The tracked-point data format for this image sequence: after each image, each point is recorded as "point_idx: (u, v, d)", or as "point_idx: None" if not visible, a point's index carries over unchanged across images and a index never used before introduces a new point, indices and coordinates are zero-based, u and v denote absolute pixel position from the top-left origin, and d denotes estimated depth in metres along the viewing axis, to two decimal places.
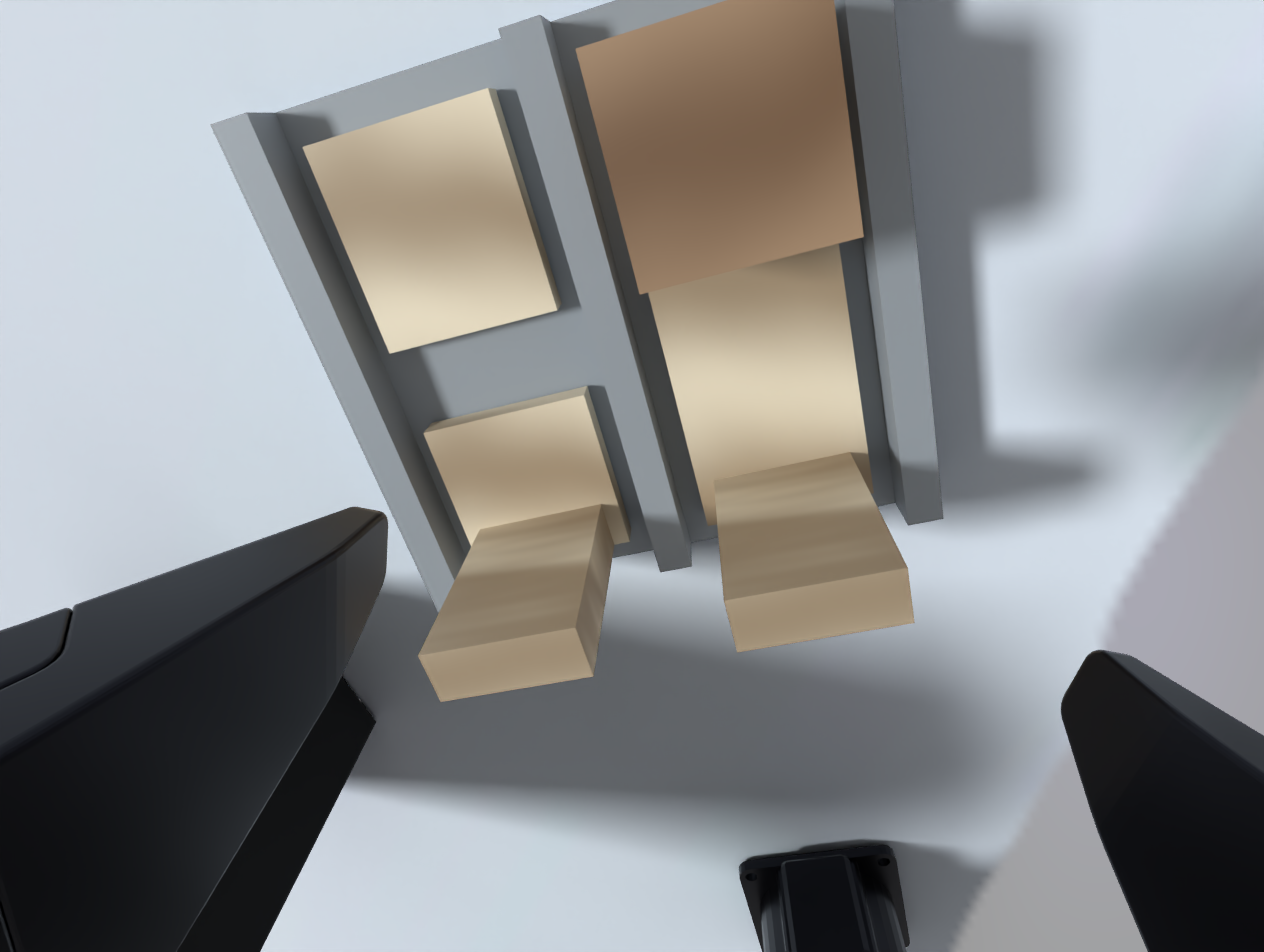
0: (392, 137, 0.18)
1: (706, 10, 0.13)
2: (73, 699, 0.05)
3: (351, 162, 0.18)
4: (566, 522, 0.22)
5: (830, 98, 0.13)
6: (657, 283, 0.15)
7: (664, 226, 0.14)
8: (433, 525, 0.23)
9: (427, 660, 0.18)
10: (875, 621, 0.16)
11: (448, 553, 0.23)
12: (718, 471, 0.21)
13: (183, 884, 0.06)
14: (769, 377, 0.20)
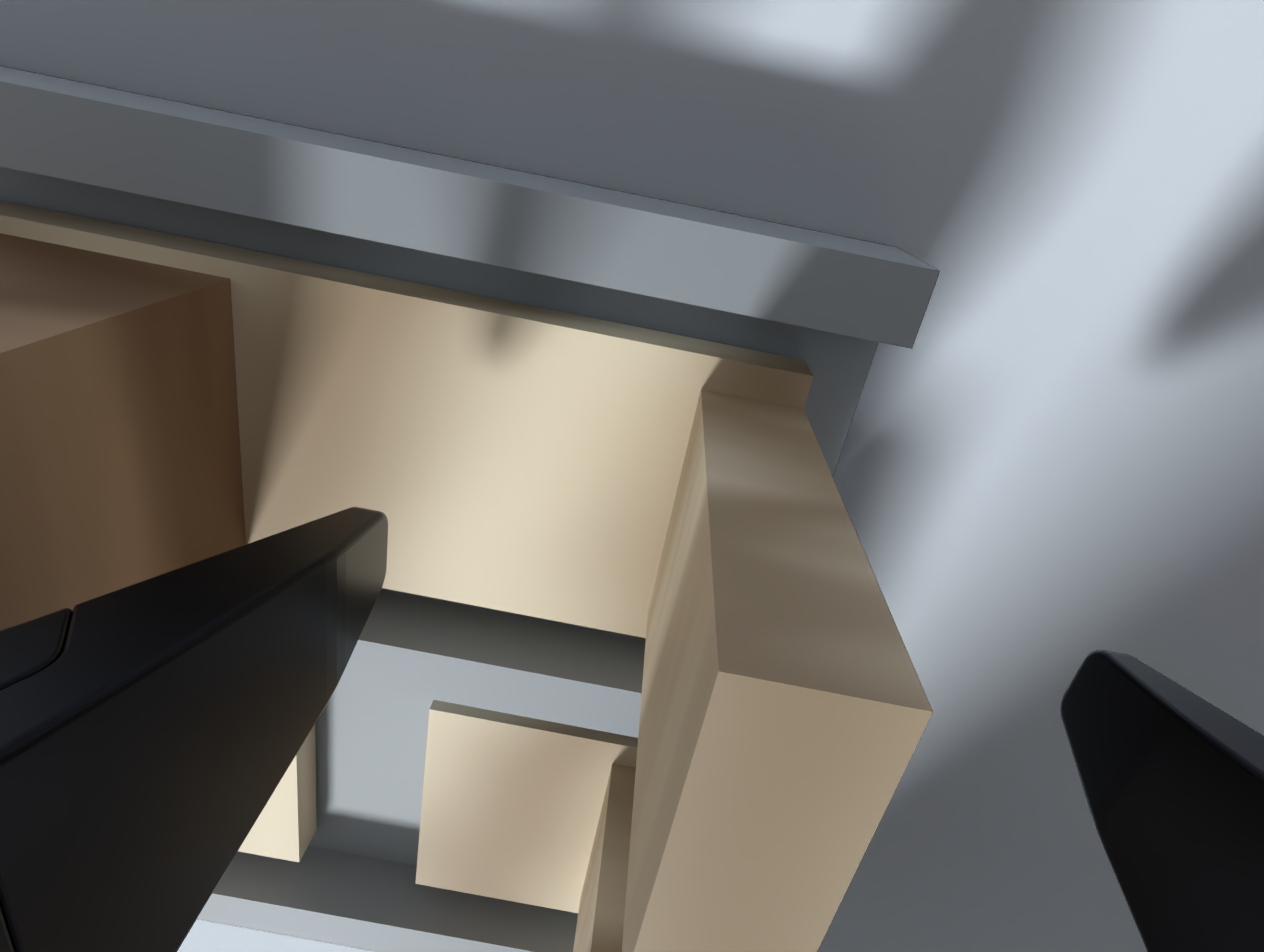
0: None
1: None
2: (74, 698, 0.05)
3: None
4: (599, 834, 0.13)
5: None
6: None
7: None
8: (542, 942, 0.16)
9: None
10: (863, 788, 0.05)
11: None
12: (634, 601, 0.12)
13: (184, 884, 0.06)
14: (497, 465, 0.11)
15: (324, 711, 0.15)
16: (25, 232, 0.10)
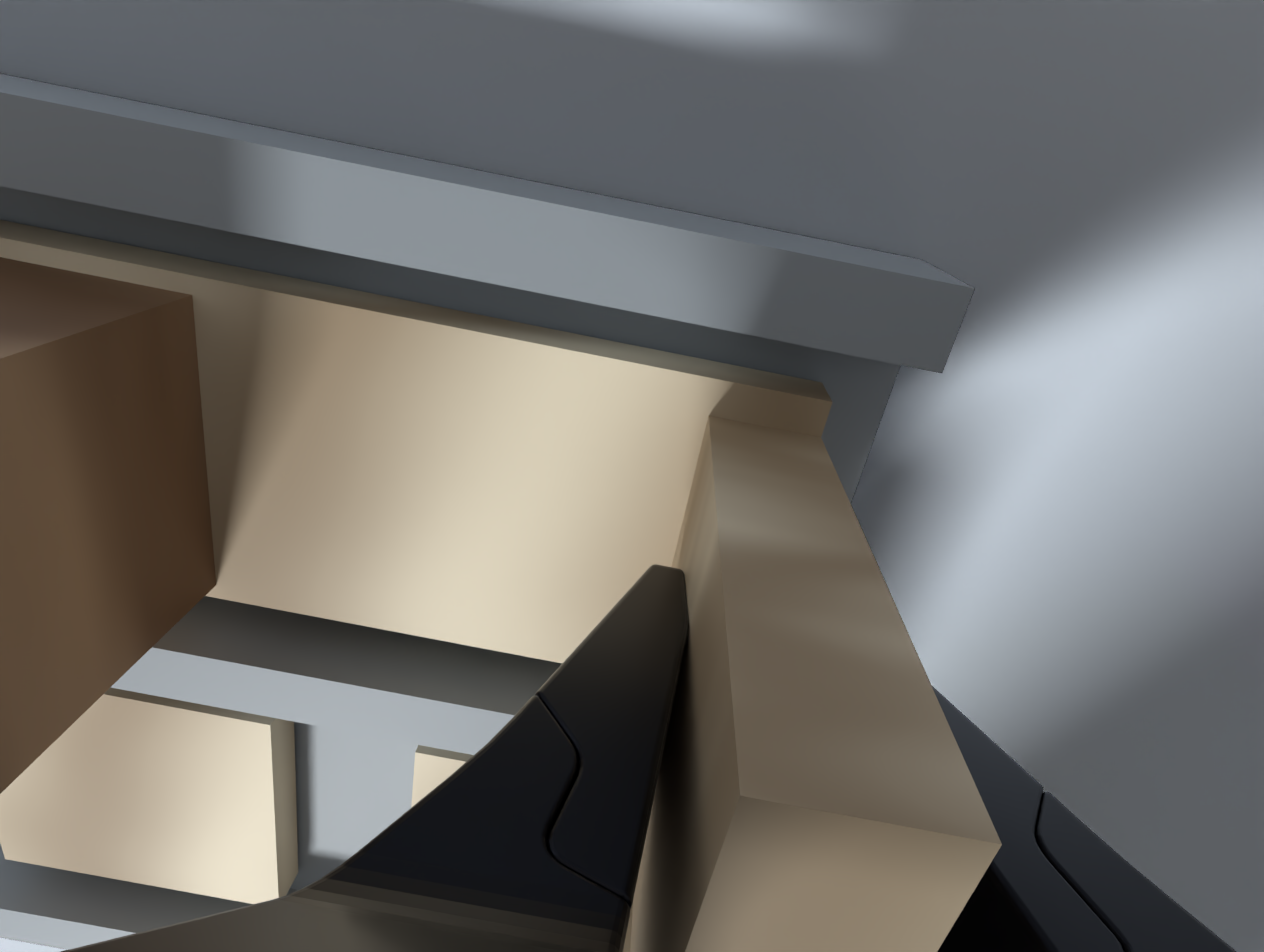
0: None
1: None
2: (637, 803, 0.05)
3: (27, 828, 0.14)
4: None
5: None
6: None
7: None
8: None
9: None
10: (914, 925, 0.04)
11: None
12: None
13: None
14: (486, 497, 0.10)
15: (304, 750, 0.14)
16: None
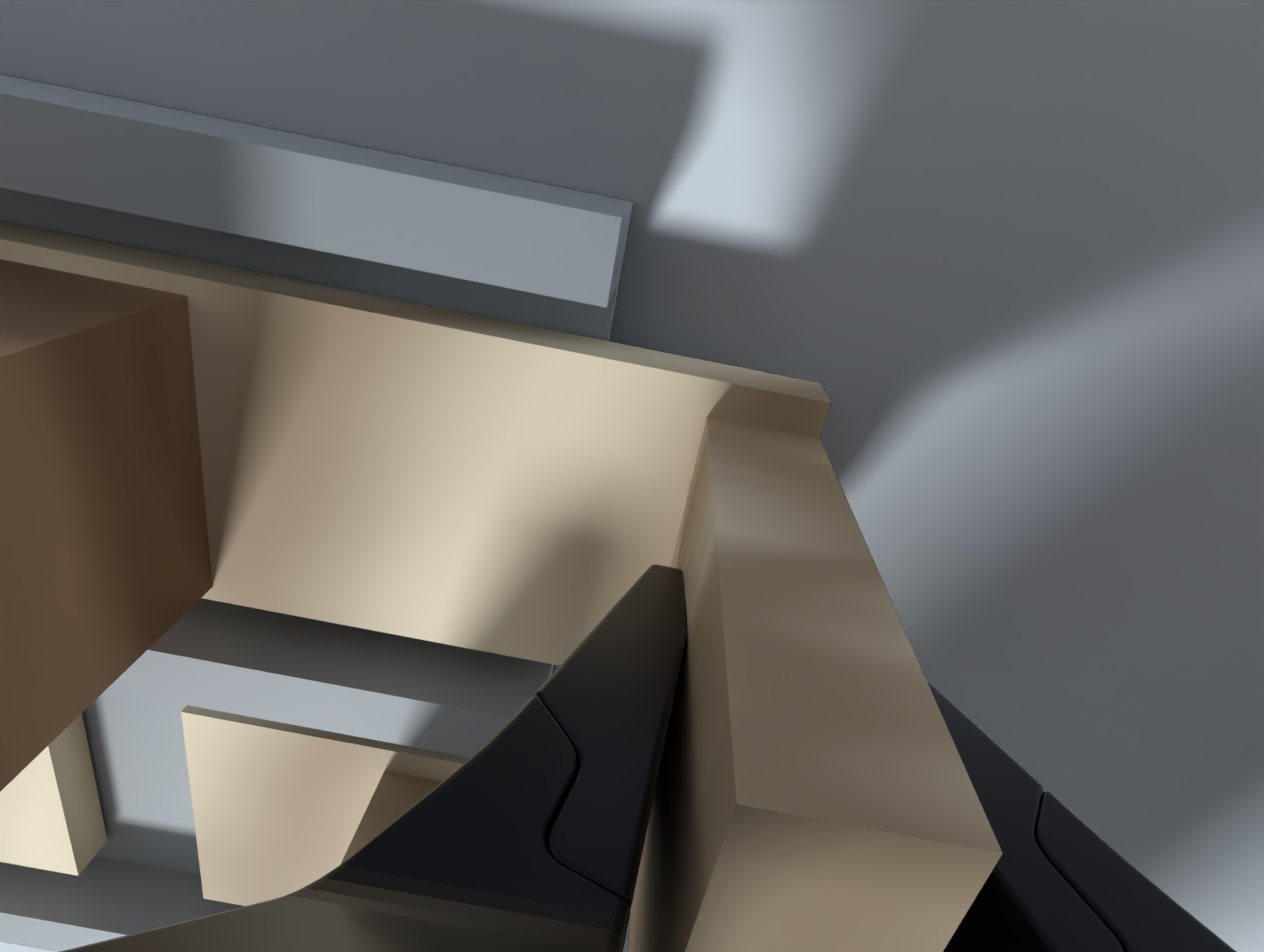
0: None
1: None
2: (637, 803, 0.05)
3: None
4: None
5: None
6: None
7: None
8: None
9: None
10: (913, 936, 0.04)
11: None
12: None
13: None
14: (483, 498, 0.10)
15: (93, 714, 0.14)
16: None
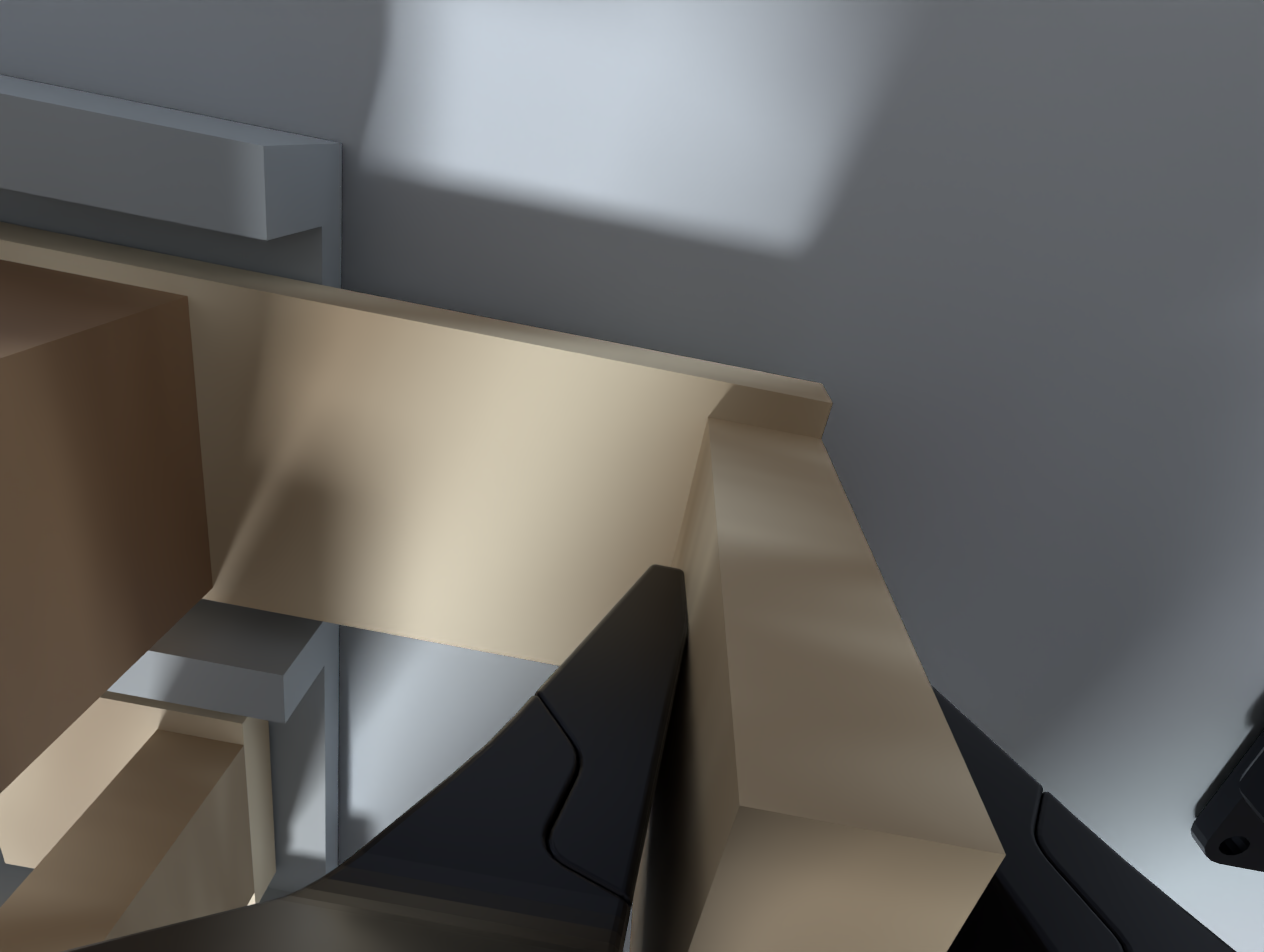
0: None
1: None
2: (637, 803, 0.05)
3: None
4: None
5: None
6: None
7: None
8: None
9: None
10: (915, 938, 0.04)
11: None
12: None
13: None
14: (484, 499, 0.10)
15: None
16: None
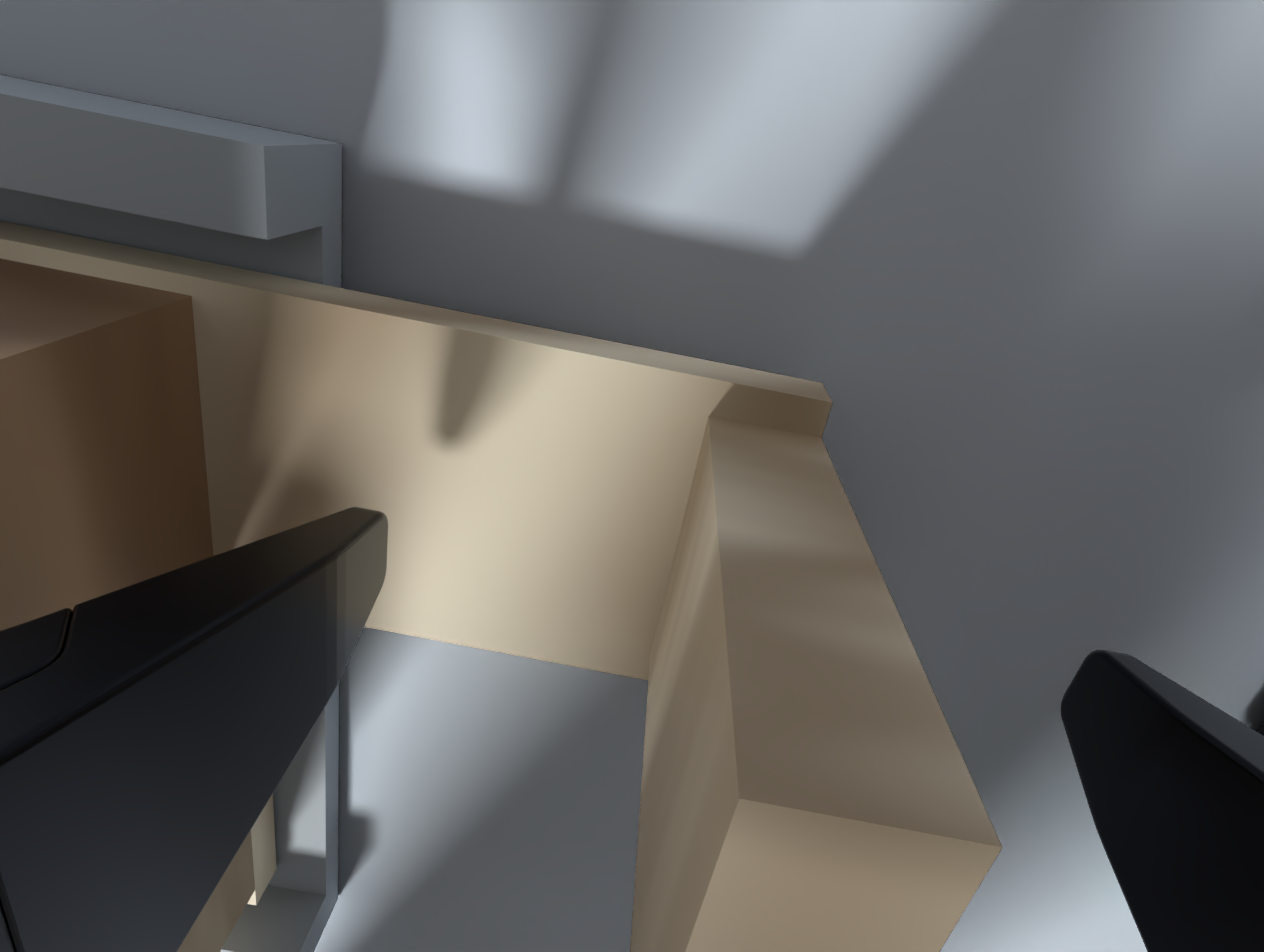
0: None
1: None
2: (73, 699, 0.05)
3: None
4: None
5: None
6: None
7: None
8: None
9: None
10: (914, 929, 0.04)
11: None
12: (635, 641, 0.11)
13: (183, 884, 0.06)
14: (486, 497, 0.10)
15: None
16: None
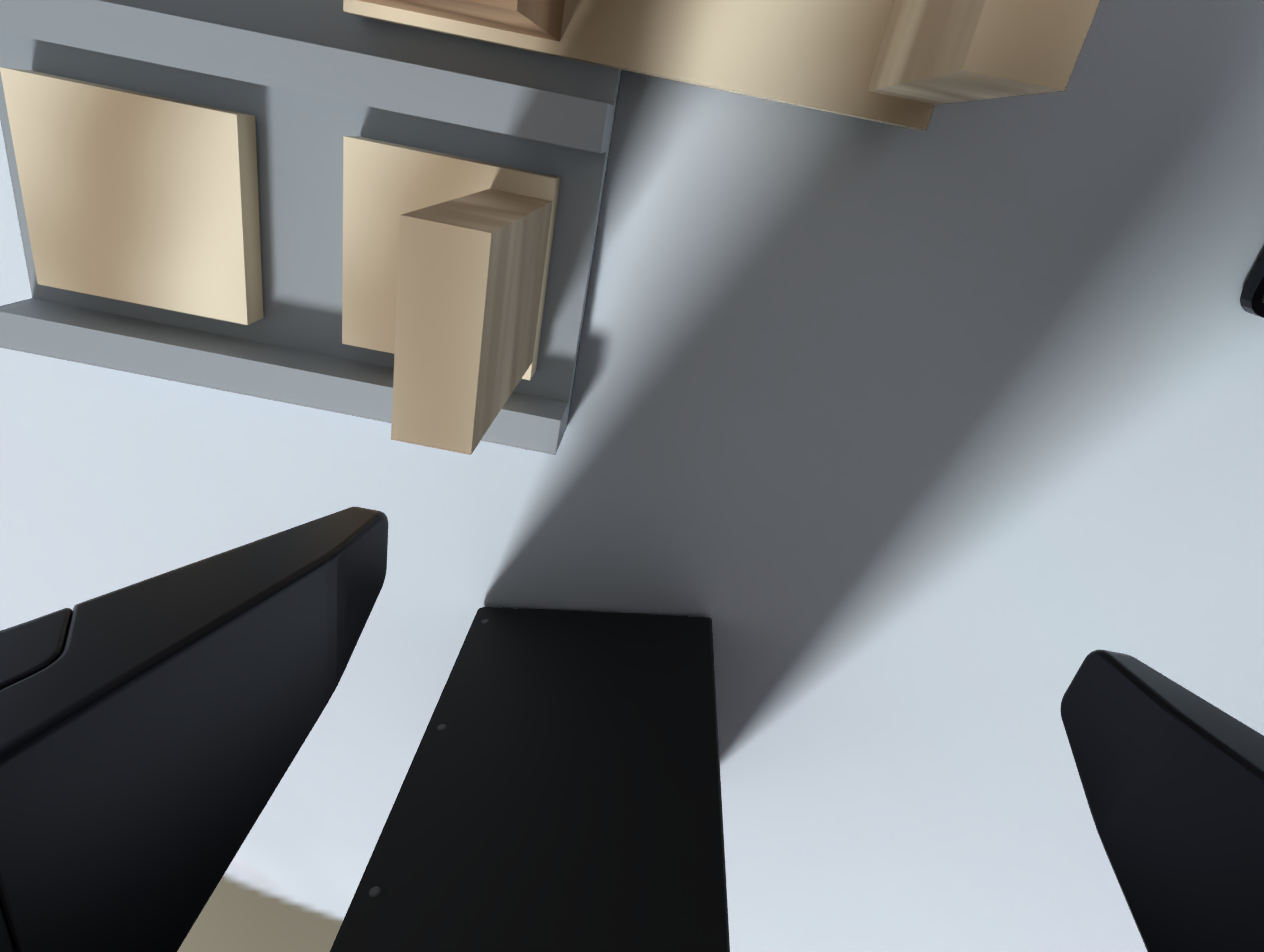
0: (37, 193, 0.18)
1: None
2: (74, 699, 0.05)
3: (55, 247, 0.18)
4: None
5: None
6: None
7: None
8: None
9: (401, 432, 0.13)
10: None
11: None
12: (858, 78, 0.16)
13: (184, 884, 0.06)
14: None
15: (265, 182, 0.18)
16: None
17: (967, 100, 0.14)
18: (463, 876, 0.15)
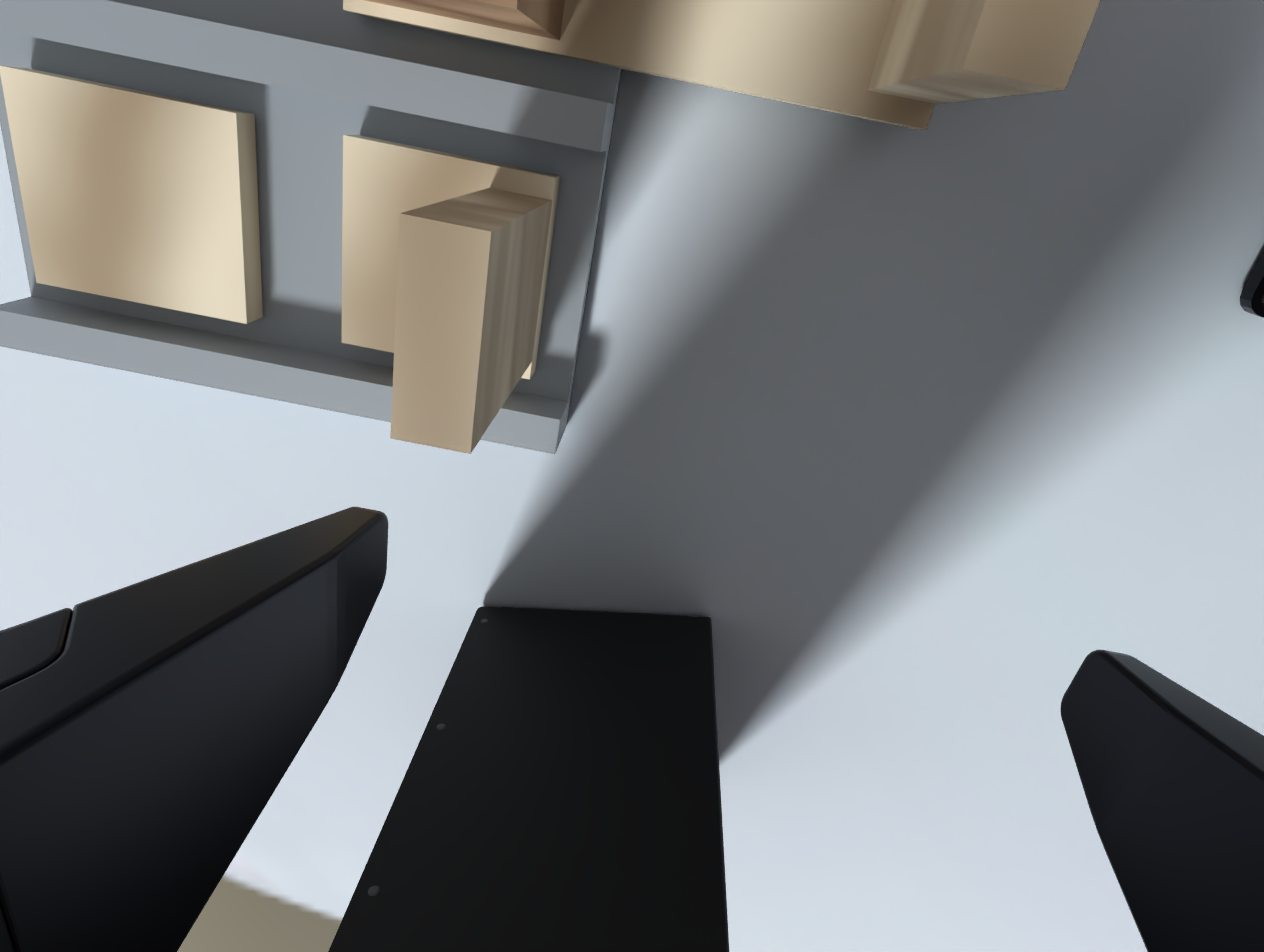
0: (36, 192, 0.18)
1: None
2: (73, 699, 0.05)
3: (54, 245, 0.18)
4: None
5: None
6: None
7: None
8: None
9: (401, 431, 0.13)
10: None
11: None
12: (858, 77, 0.16)
13: (184, 884, 0.06)
14: None
15: (265, 180, 0.18)
16: None
17: (967, 99, 0.14)
18: (462, 876, 0.15)
